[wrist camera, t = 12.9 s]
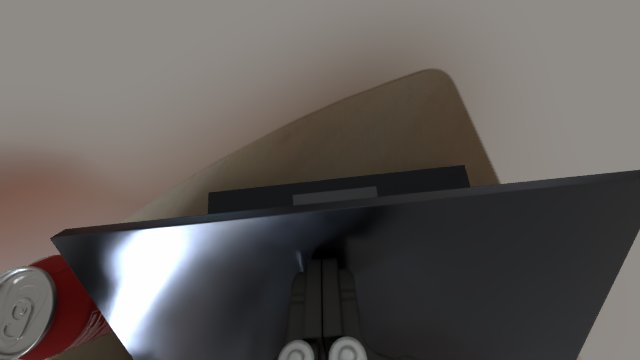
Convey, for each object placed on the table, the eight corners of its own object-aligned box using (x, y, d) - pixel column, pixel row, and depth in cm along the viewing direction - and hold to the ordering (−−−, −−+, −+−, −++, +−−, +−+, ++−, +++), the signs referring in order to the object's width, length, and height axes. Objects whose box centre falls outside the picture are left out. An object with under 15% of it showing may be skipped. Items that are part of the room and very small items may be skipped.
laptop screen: (67, 227, 12) (49, 238, 11) (640, 168, 11) (666, 175, 10) (200, 436, 21) (195, 450, 20) (530, 418, 19) (540, 434, 18)
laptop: (217, 195, 28) (207, 192, 26) (455, 170, 27) (465, 164, 25) (212, 419, 23) (200, 436, 21) (513, 402, 21) (531, 419, 19)
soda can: (191, 255, 27) (79, 267, 15) (172, 320, 25) (30, 389, 14) (138, 244, 28) (-7, 247, 16) (117, 307, 26) (-62, 360, 14)
